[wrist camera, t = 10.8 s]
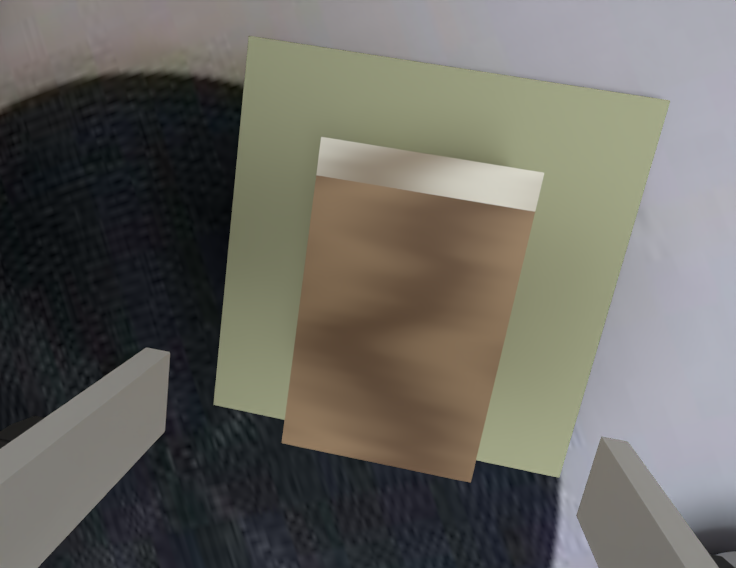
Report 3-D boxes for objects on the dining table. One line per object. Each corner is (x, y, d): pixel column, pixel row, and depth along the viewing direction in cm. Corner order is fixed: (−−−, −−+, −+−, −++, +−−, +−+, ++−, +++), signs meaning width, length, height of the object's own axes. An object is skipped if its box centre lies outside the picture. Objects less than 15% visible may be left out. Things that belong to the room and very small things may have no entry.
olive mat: (221, 396, 28) (213, 404, 27) (256, 40, 23) (248, 35, 22) (554, 466, 26) (559, 477, 25) (659, 103, 22) (670, 100, 21)
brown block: (281, 443, 19) (321, 136, 16) (320, 368, 26) (353, 144, 23) (470, 482, 18) (544, 172, 16) (459, 396, 25) (509, 169, 22)
